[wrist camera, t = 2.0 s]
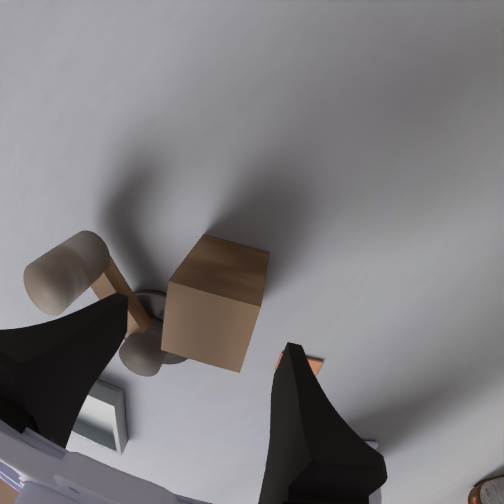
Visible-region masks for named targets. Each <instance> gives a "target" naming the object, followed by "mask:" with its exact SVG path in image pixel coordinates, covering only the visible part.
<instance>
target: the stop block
mask: <svg viewBox="0 0 504 504" xmlns="http://www.w3.org/2000/svg"><path fill="white" fill-rule="evenodd" d="M268 258H269V252H267V251H263V250H260V249H256V248H252V247H249V246H245V245H241V244H237V243H234V242H230V241H226V240H223V239H219V238H215V237H212V236H208V235H204V234H203V235H202V237H201V238H200V239H199V241H198V242H197V243H196V245H195V246H194V247H193V249H192V250H191V251H190V253H189V254H188V255H187V257H186V258H185V259H184V261H183V262H182V263H181V265H180V266H179V267H178V269H177V270H176V271H175V273H174V274H173V275H172V277H171V278H170V279H169V281H168V288H167V296H166V305H165V313H164V323H163V332H162V343H161V350H164V351H167V352H170V353H173V354H176V355H179V356H183V357H186V358H189V359H192V360H196V361H199V362H202V363H206V364H209V365H213V366H216V367H220V368H224V369H227V370H231V371H235V372H239V373H240V370H241V367H242V364H243V361H244V358H245V355H246V352H247V348H248V345H249V342H250V339H251V336H252V333H253V330H254V327H255V323H256V320H257V317H258V314H259V311H260V308H261V302H262V296H263V290H264V283H265V277H266V271H267V265H268Z"/></svg>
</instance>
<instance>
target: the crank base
mask: <svg viewBox="0 0 504 504" xmlns="http://www.w3.org/2000/svg"><path fill="white" fill-rule="evenodd" d="M134 295H135V296H136V298H137V299H138V301H139V302H140V304H141V305H142V307H143V308H144V310H145V311H146V313H147V314H148V316H149V317H150V318H153V319H156V320H159V321H161V322H162V323H164V313H165V305H166V296H167V293H164V292H161V291H156V290H142V291H138V292H136V293H134ZM124 339H125V340H126V338H125V337H124ZM187 359H188V358H186V357H183V356H179V355H176V354H173V353H170V352H168V353H167V355H166V357H165V359H164V361H163V363H162V364H177V363H181V362H183V361H185V360H187Z"/></svg>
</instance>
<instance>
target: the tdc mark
mask: <svg viewBox="0 0 504 504" xmlns="http://www.w3.org/2000/svg"><path fill="white" fill-rule="evenodd" d="M282 355H283V352H282V353H281V356H280V358H279V360H278V363H277V365H276V368H275V370H276V369H277V367H278V364H279V362H280V359H281V357H282ZM307 359H308V362H309V364H310V366H311V368H312V370H313V373H314V375H315V376H316V374H317V372H318V371H319V369H320V367H321V365H322V363H323V362H322V361H320V360H315V359H311V358H307Z"/></svg>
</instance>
